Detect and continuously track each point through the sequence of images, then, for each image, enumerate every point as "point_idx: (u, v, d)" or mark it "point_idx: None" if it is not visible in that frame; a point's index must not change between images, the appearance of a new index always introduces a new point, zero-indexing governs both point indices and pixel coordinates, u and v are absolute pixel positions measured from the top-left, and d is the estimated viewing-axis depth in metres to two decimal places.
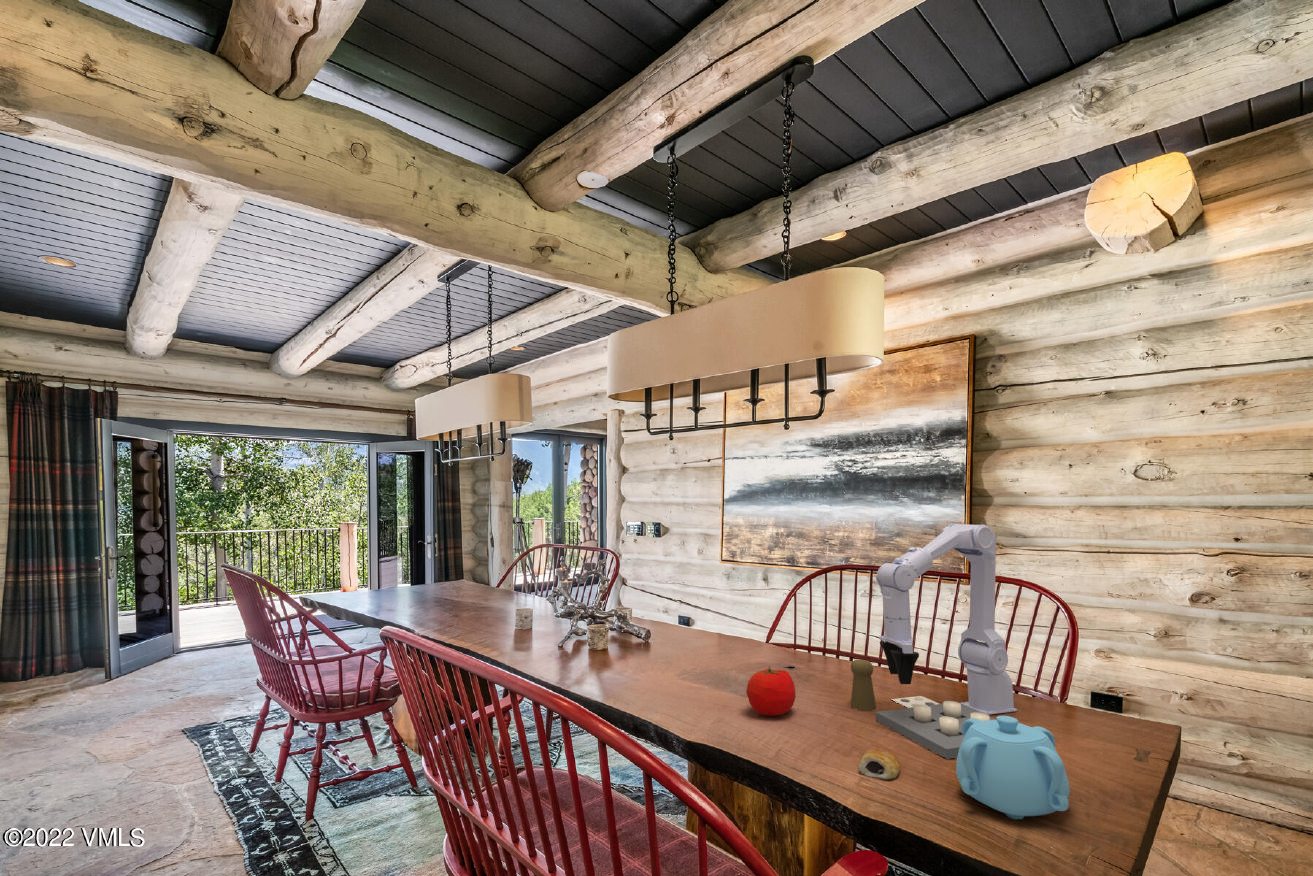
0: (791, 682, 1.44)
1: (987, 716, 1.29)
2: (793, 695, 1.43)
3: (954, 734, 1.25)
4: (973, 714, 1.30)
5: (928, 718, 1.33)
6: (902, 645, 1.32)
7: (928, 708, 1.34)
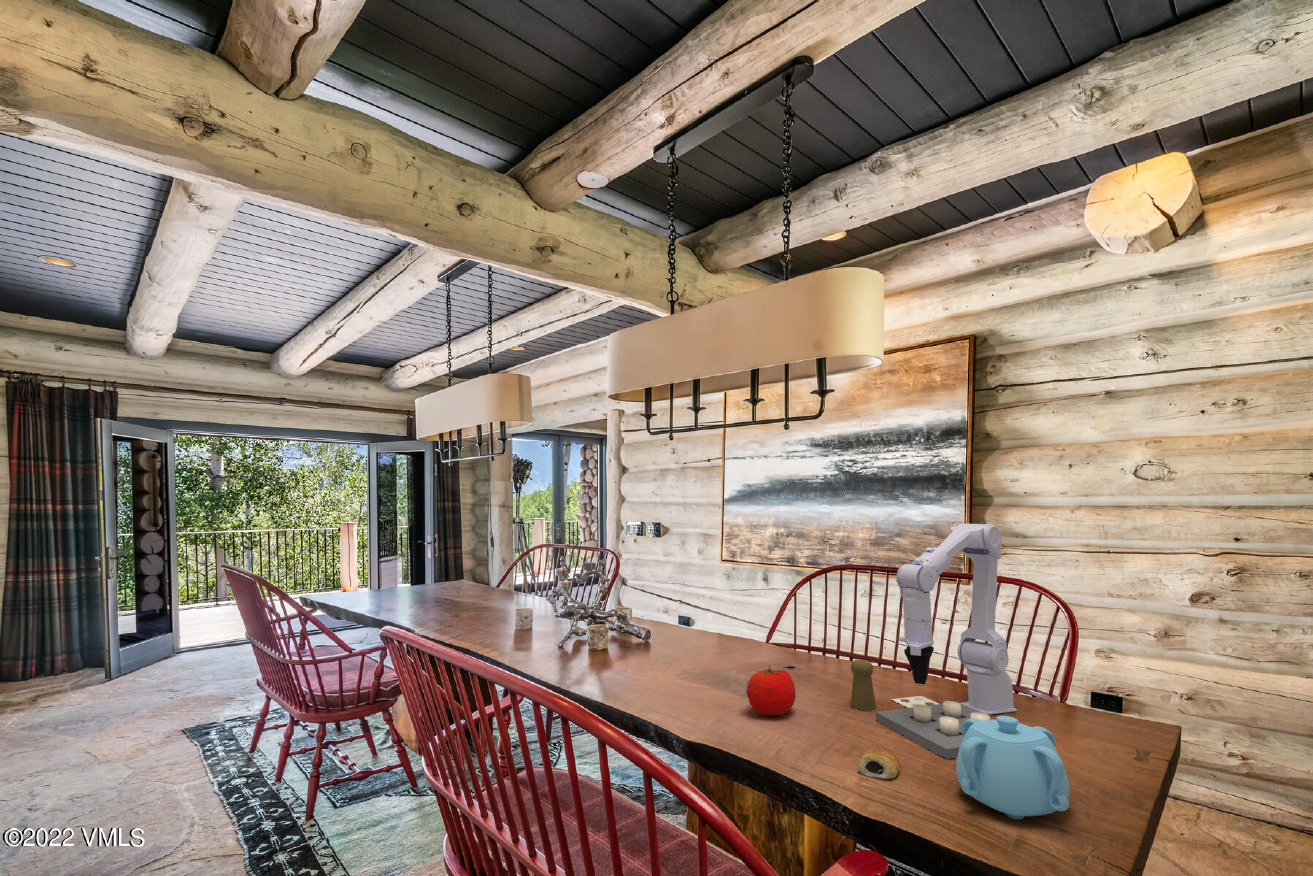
0: (791, 682, 1.44)
1: (987, 716, 1.29)
2: (793, 695, 1.43)
3: (954, 734, 1.25)
4: (973, 714, 1.30)
5: (928, 718, 1.33)
6: (910, 646, 1.31)
7: (928, 708, 1.34)
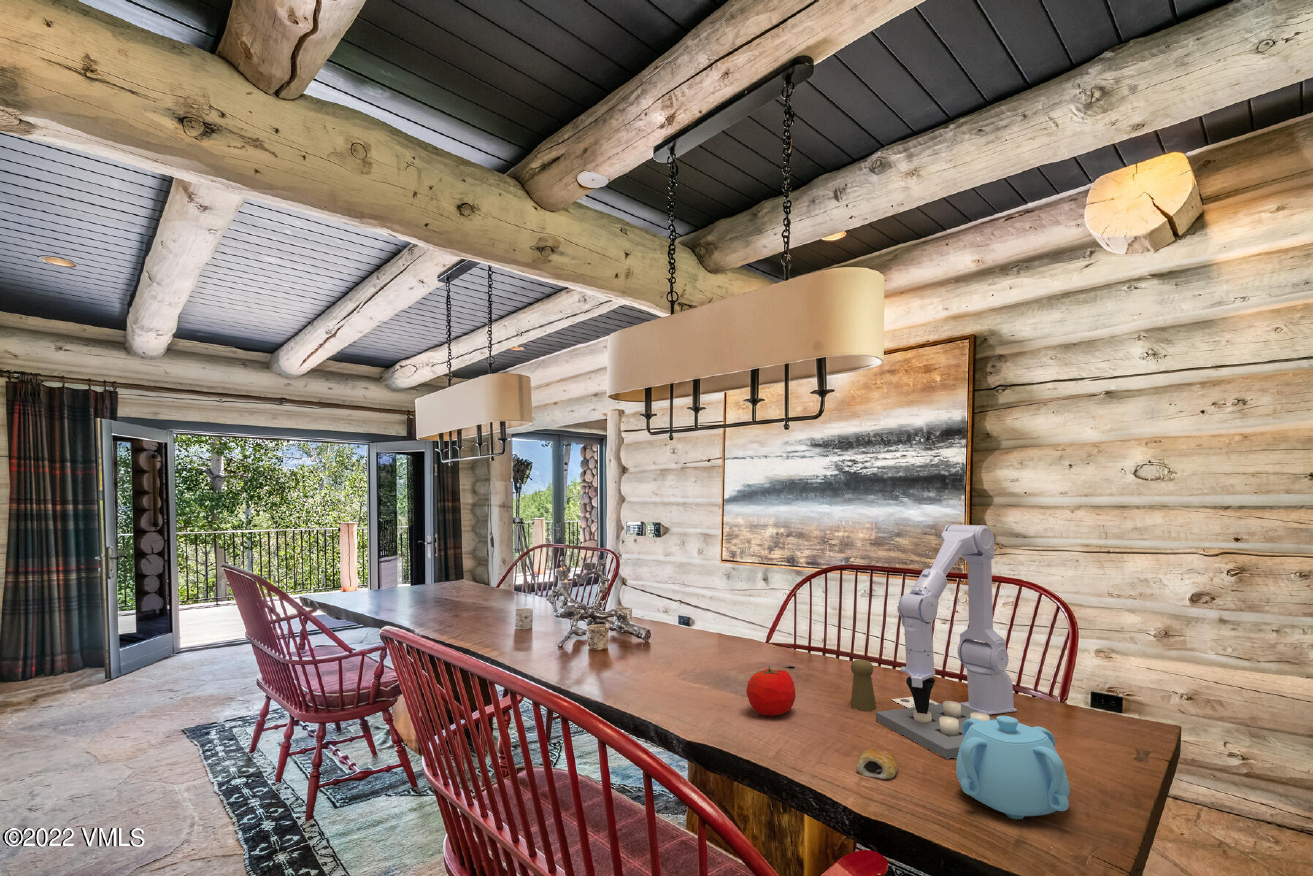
0: (791, 682, 1.44)
1: (987, 716, 1.29)
2: (793, 695, 1.43)
3: (954, 734, 1.25)
4: (973, 714, 1.30)
5: None
6: (911, 678, 1.30)
7: (928, 713, 1.34)
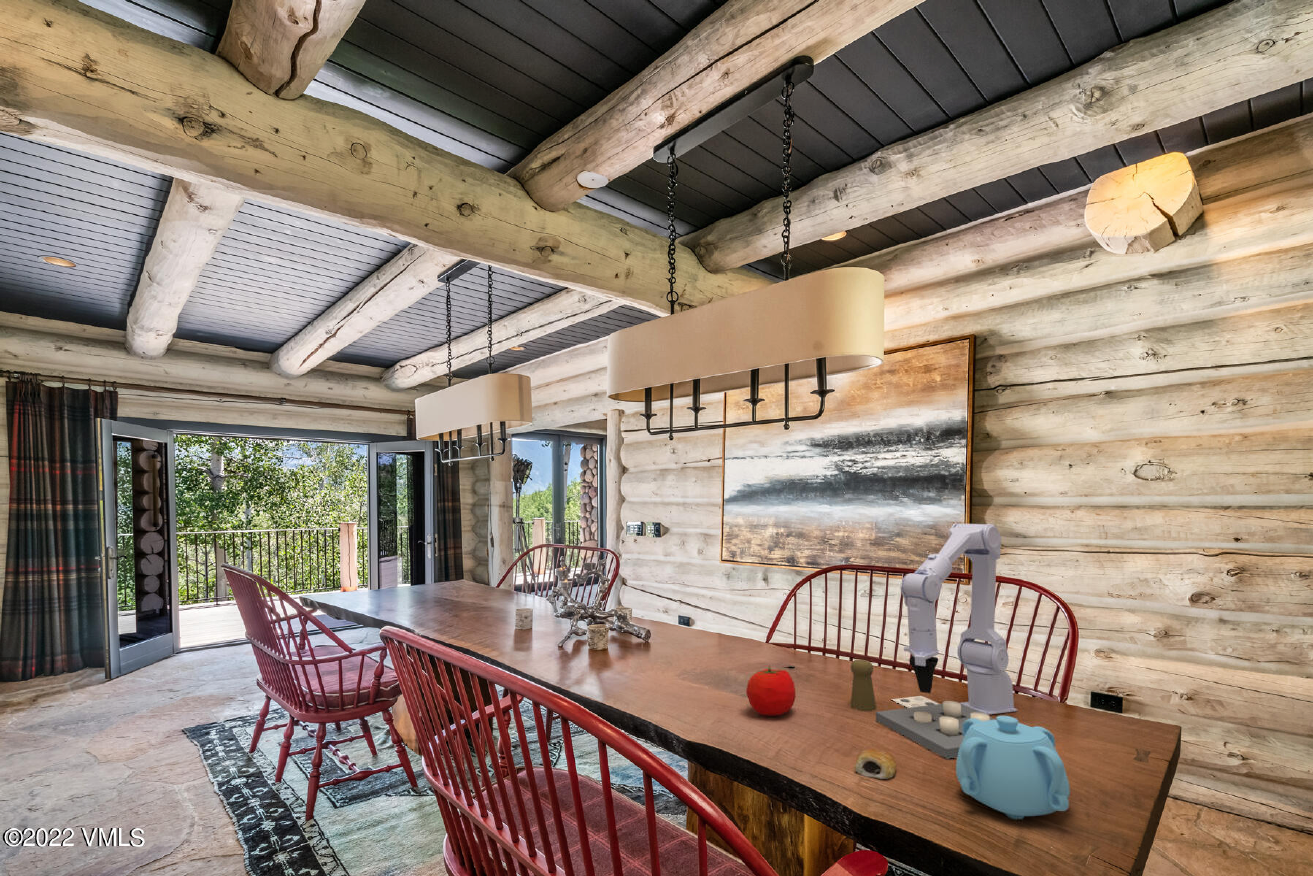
0: (791, 682, 1.44)
1: (987, 716, 1.29)
2: (793, 695, 1.43)
3: (954, 734, 1.25)
4: (973, 714, 1.30)
5: None
6: (915, 657, 1.31)
7: (928, 715, 1.34)
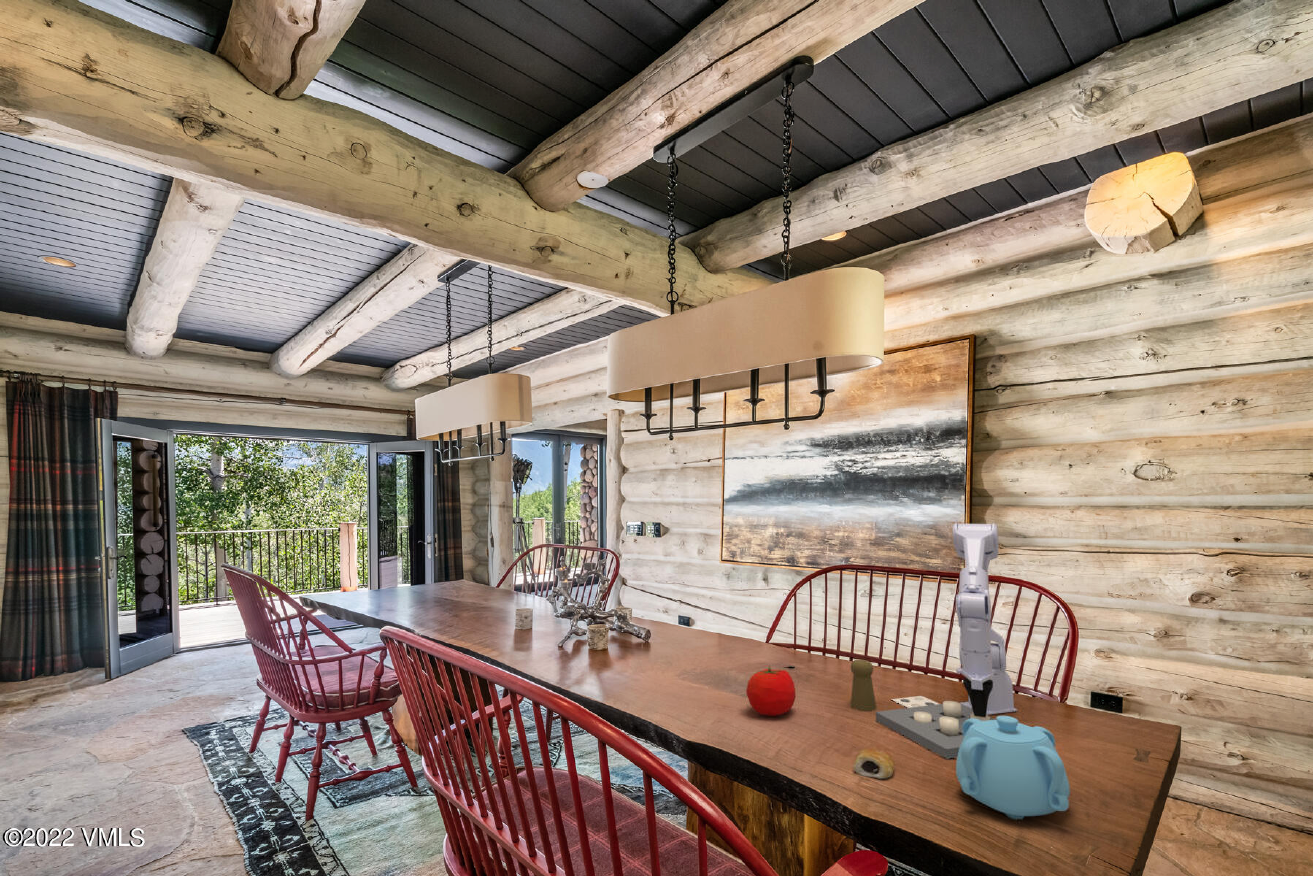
0: (791, 682, 1.44)
1: (987, 716, 1.29)
2: (793, 695, 1.43)
3: (954, 734, 1.25)
4: (973, 714, 1.30)
5: None
6: (971, 680, 1.25)
7: (928, 715, 1.34)
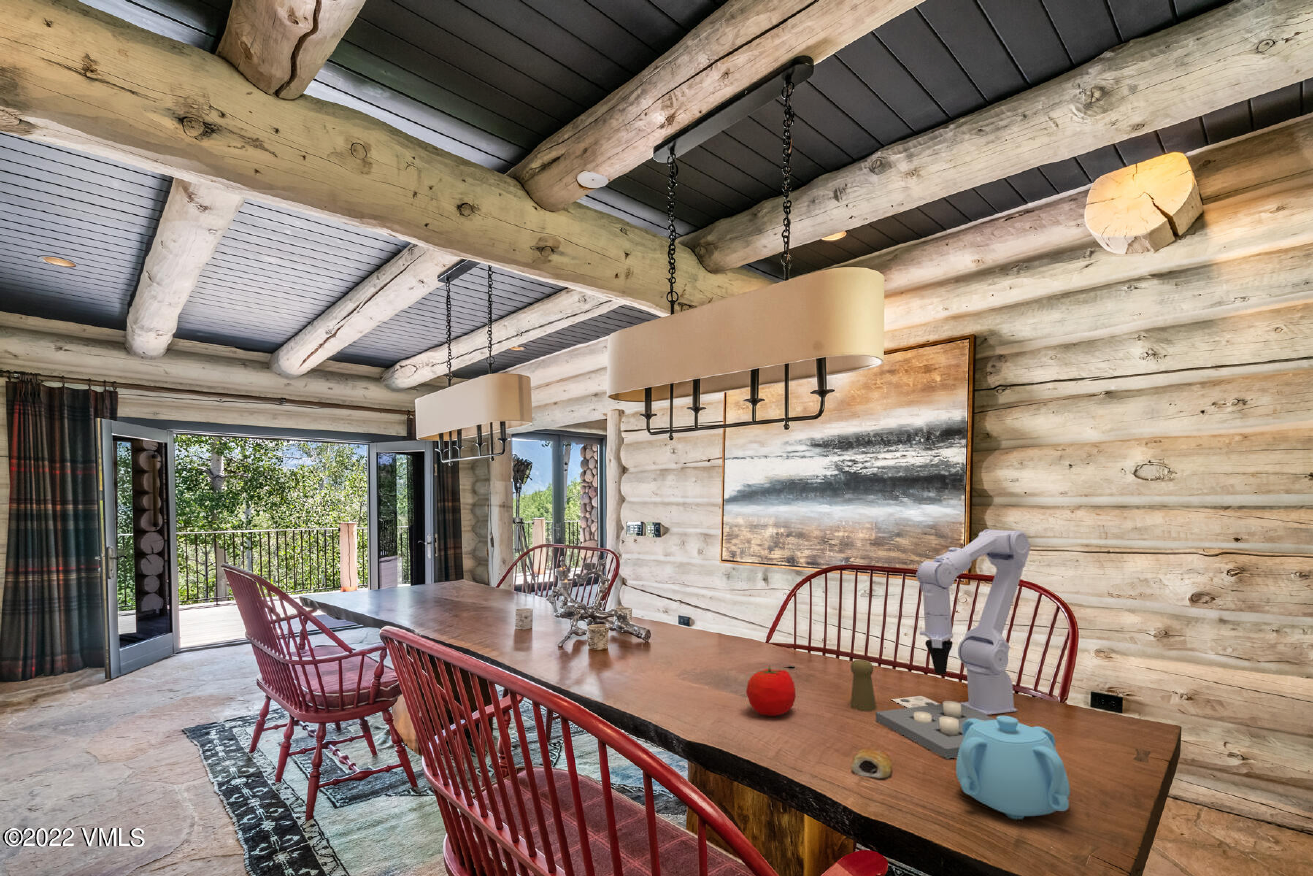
0: (791, 682, 1.44)
1: None
2: (793, 695, 1.43)
3: (954, 734, 1.25)
4: None
5: None
6: (931, 639, 1.38)
7: (928, 715, 1.34)
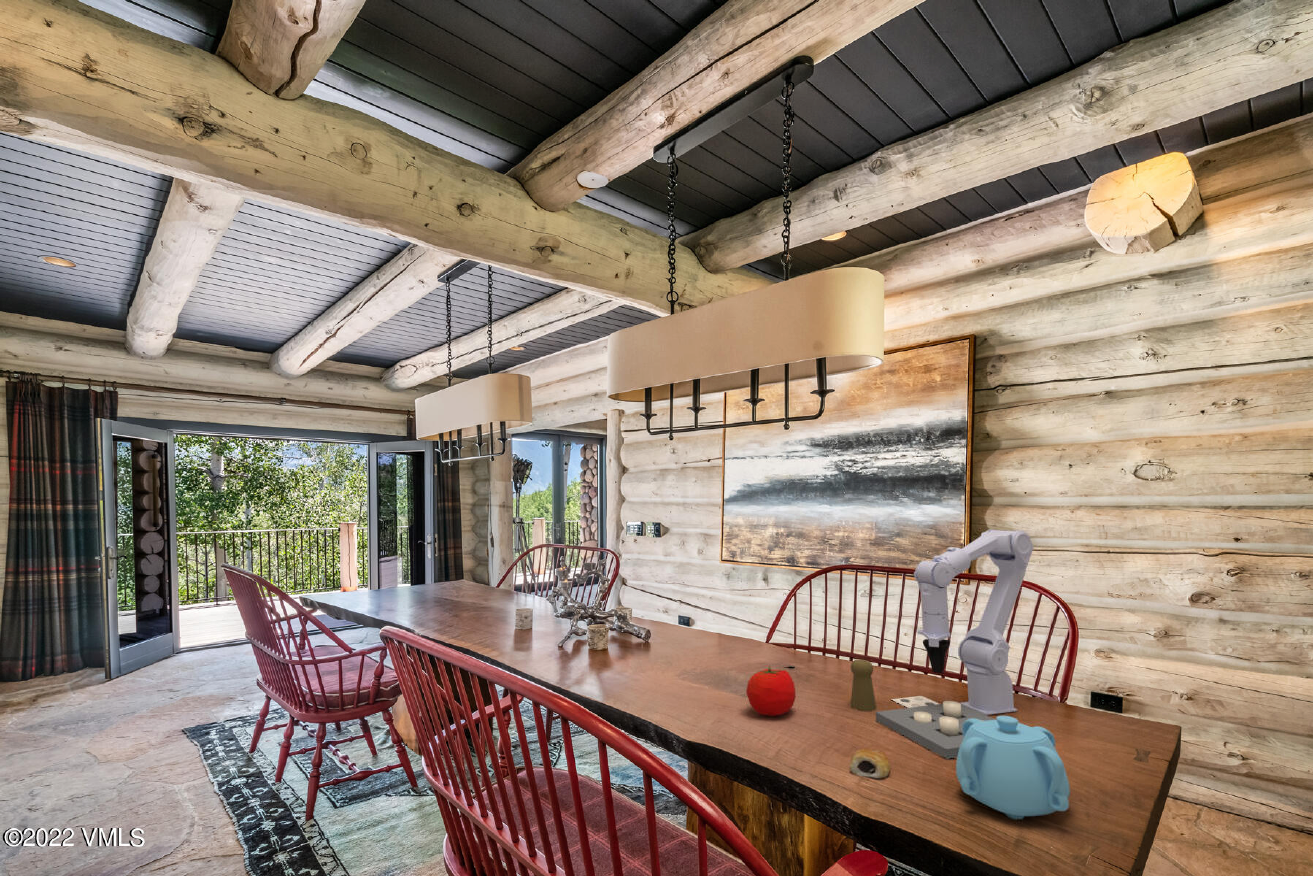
0: (791, 682, 1.44)
1: None
2: (793, 695, 1.43)
3: (954, 734, 1.25)
4: None
5: None
6: (928, 638, 1.38)
7: (928, 715, 1.34)
